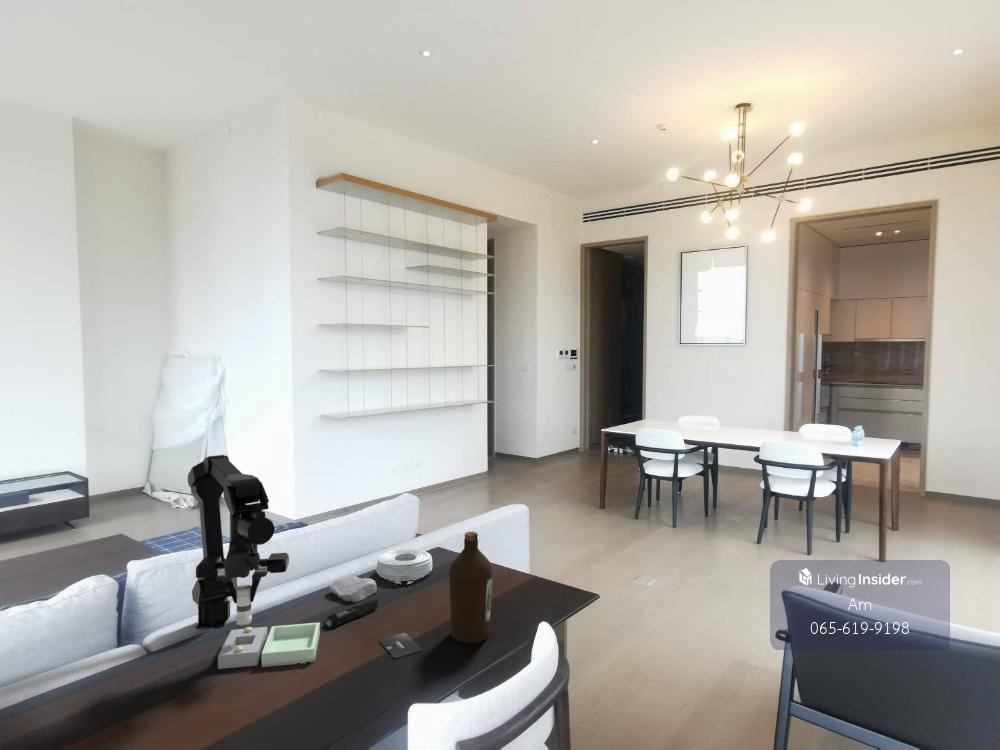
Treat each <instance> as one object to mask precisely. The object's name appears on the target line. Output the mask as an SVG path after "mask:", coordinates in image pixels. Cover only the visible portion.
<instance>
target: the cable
mask: <svg viewBox="0 0 1000 750" xmlns="http://www.w3.org/2000/svg"><path fill="white" fill-rule="evenodd" d="M375 567H376V568H375V570H376V573H377V574H378V576H379V577H380V578H381V577H382V579H383V578H384V579H383V580H386V579H388V580H394V582H395V583H397V584H400V585H402V582H407V583H406V584H407V585H408V584H411V583H412V582H413V580H416V579H419V578H421V579H423V578H425V577H426V576H425V575H427V574H428V573H429V572H430V571H431V572H432V570H433V558H432V554H431V553H429V552H427V551H425V550H422V549H419V548H412V547H410V548H397V549H393V550H390V551H387V552H385V553H383V554H382V555H380V556H379V558H378V559H377V564H376V566H375ZM431 572H430V573H431ZM430 573H429V574H430ZM429 574H428V575H429ZM428 575H427V576H428ZM424 576H425V577H424ZM422 577H423V578H422ZM388 580H387V581H388ZM410 580H412V581H410ZM419 580H420V579H419ZM411 585H412V584H411ZM408 586H409V585H408Z"/></svg>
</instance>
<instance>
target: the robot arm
mask: <svg viewBox="0 0 1000 750" xmlns="http://www.w3.org/2000/svg"><path fill="white" fill-rule="evenodd" d="M187 484H188V487H189V488H190V492H191V495H192V496H193V497H194V498H195V500H196V501H197V502H198V505H199V518H200V530H201V542H202V543H201V544H202V555H203V557H202V559H201V560H200V562H199V563H198V564H197V565H196V567H195V578H196V579H197V580H196V581H195V583H194V586H193V588H192V590H191V596H192V602H195V604H196V605H197V610H198V611H197V612H198V613H197V617H198V618H197V619H198V620H197V621H198V622H197V624H196V625H195V629H202V628H203V629H204V628H205V629H206V628H216V627H224V626H225V624H226V623H227V621H228V620H229V619H230V617H231V600H229V598H231V599H232V601H233V604H235V605H237V596H236V588H237V587H238V578H241V579H243V578H244V579H245V578H247V577H248V576H249V575H250V572H251V571H254V572H253V573H252V575H251V581H252V582H251V586H252V587H251V603H253V602H254V600H255V596H256V594H257V591H258V589H259V584H260V582H261V580H262V578H265V577H267V575H268V573H270V574H279V573H285V572H287V570H288V567H289V564H290V555H289V554H288V552H275V553H270V554H269V557H267V558H261V555H260V552H258V546H260V545H265V544H266V543H268V542H269V541H270V540H271V539H272V537H273V536H274V533H275V528H276V527H275V524H274V523H273V521H272V520H271V519H270V518H268V517H266V511H265V510H269V502H270V500H269V497H268V495H267V492H266V490H265V487H264V485H263V483H262V481H261V480H260V479H259V478H258V477H257V476H255V475H252V474H247V473H246V474H245V473H242V472H241V471H240V470H239V469H238V467H237V466H235V465H234V464H233V463H232V462H231V461H230V458H229V456H228V455H226V454H218V455H209V456H207V457H204V458H203V460H202V461H201V462H199V463H197V464H195V465H194V466H192V467H191V469H190V471H189V472H188V474H187ZM222 494H223V500H224V501H225V504H226V507H227V509H228V511H229V545H228V551H227V555H226V558H225V554H224V542H223V529H222V520H221V517H222V516H221V508H220V507H221V506H220V499H221V497H222Z"/></svg>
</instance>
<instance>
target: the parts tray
mask: <svg viewBox="0 0 1000 750" xmlns="http://www.w3.org/2000/svg"><path fill="white" fill-rule="evenodd" d="M320 634H321V622H310V623H309V622H308V623H296V624H286V625H285V624H284V625H274V626H271V628H270V631H269V634H268V638H267V641H266V643H265V646H264V649H263V651H262V655H261V668H267V667H268V668H269V667H278V666H279V667H281V666H285V665H286V666H288V665H298V664H297V663H300V664H307V663H306V662H311V663H315V661H316V656H317V652H318V651H317V650H318V645H319V642H320V641H319V640H320V637H319V636H321V635H320ZM318 641H319V642H318ZM316 651H317V652H316Z"/></svg>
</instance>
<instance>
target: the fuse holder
mask: <svg viewBox="0 0 1000 750" xmlns="http://www.w3.org/2000/svg"><path fill="white" fill-rule="evenodd" d="M268 635H269V634H268V626H262V627H260V626H259V627H252V626H247V627H245V628H239V629H238V628H237V629H231V630H230V632H229V634H228V636H227V637H226V639H225V642H224V644H223V645H222V647H221V649H220V651H219V653H218V655H217V669H218V670H222V669H224V670H225V669H230V668H231V669H232V668H234V669H235V668H245V667H253V666H254V667H256V666H258V665H259V662H260V660H261V659H262V651H263V649H264V646H265V643H266V641H267V638H268Z"/></svg>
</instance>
